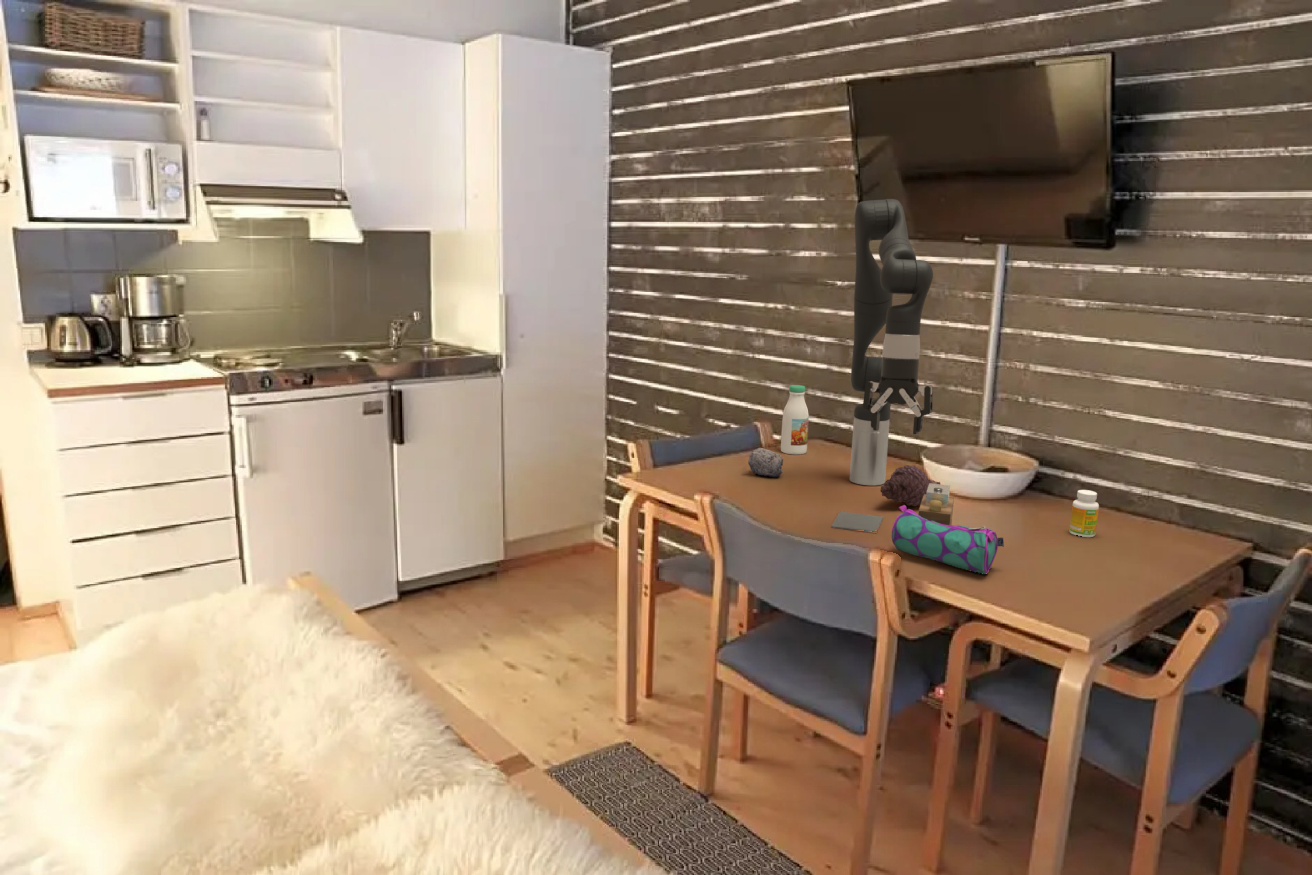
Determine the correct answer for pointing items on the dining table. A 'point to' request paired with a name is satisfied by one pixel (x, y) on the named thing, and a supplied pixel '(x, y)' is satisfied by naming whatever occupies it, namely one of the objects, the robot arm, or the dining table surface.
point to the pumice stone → (765, 462)
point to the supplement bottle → (1084, 514)
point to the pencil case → (946, 541)
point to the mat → (857, 522)
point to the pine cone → (907, 485)
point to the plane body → (937, 511)
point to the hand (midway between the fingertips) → (895, 432)
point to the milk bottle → (795, 422)
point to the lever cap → (938, 494)
